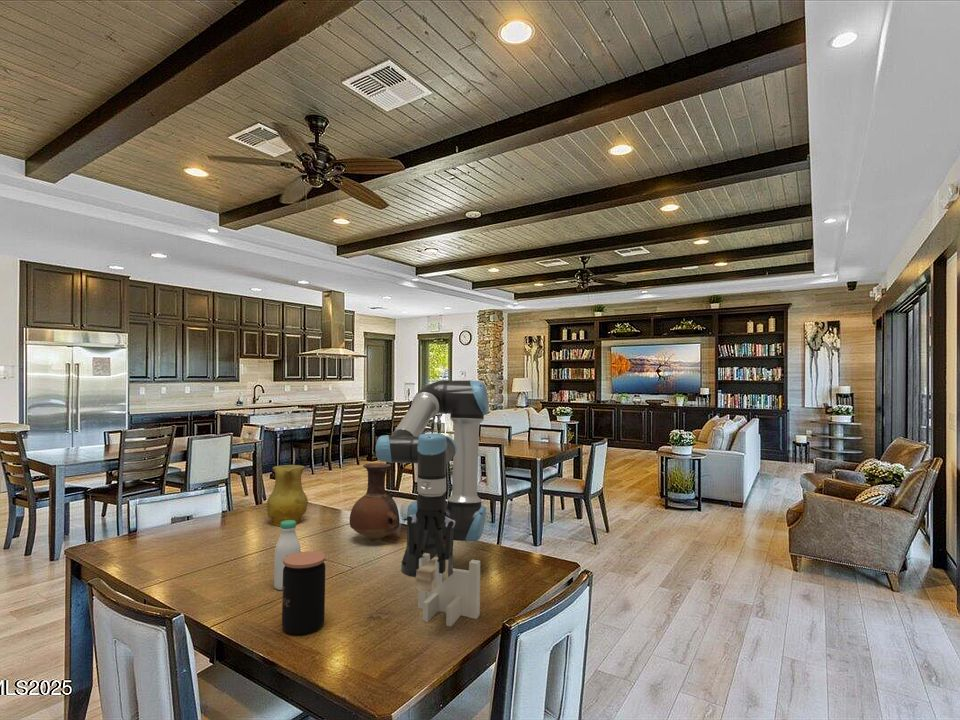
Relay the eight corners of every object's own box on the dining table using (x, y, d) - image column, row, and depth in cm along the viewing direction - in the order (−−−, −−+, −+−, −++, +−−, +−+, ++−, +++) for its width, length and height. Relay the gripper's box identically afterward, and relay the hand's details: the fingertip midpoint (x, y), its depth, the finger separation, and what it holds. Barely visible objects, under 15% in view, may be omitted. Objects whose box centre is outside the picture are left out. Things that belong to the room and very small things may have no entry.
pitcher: (256, 526, 230) (261, 467, 232) (279, 516, 248) (284, 462, 250) (293, 529, 227) (298, 470, 229) (314, 520, 245) (318, 465, 247)
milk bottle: (275, 592, 162) (276, 526, 163) (272, 583, 169) (273, 520, 169) (301, 588, 166) (303, 523, 166) (297, 579, 172) (299, 517, 173)
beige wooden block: (430, 592, 135) (430, 571, 135) (415, 590, 136) (416, 569, 136) (452, 573, 148) (453, 554, 148) (438, 571, 150) (439, 552, 150)
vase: (414, 539, 215) (415, 464, 216) (378, 553, 199) (379, 471, 199) (370, 528, 229) (372, 458, 230) (334, 540, 213) (335, 464, 213)
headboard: (407, 618, 146) (407, 562, 147) (421, 605, 155) (422, 552, 155) (467, 629, 140) (468, 571, 141) (479, 615, 149) (480, 560, 149)
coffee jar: (288, 617, 146) (289, 551, 146) (328, 616, 147) (329, 550, 147) (276, 637, 135) (278, 565, 136) (319, 635, 136) (321, 564, 137)
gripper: (395, 493, 139) (394, 584, 139) (456, 499, 134) (455, 594, 133) (409, 487, 147) (407, 574, 146) (467, 493, 141) (466, 583, 140)
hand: (430, 583), depth 140 cm, fingers closed on beige wooden block, 4 cm apart
